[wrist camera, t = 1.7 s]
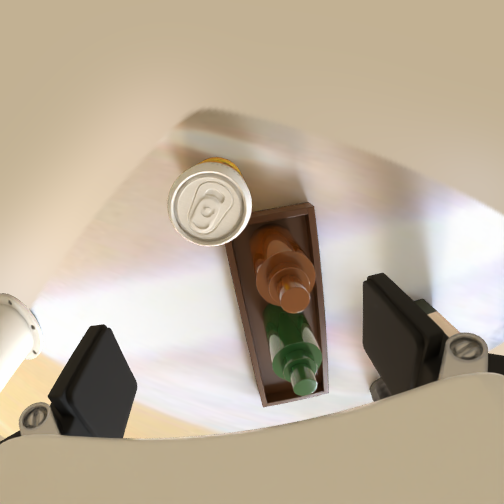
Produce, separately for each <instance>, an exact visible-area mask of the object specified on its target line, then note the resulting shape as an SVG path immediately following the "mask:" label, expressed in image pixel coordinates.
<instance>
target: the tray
mask: <svg viewBox="0 0 504 504" xmlns="http://www.w3.org/2000/svg"><path fill="white" fill-rule="evenodd" d="M270 223H275V224H280V225H282V226H284V227H286V228H287V229H288V230H289V231H290V233H291V234H292V235H293V237H294V238H295V240H296V241H297V243H298V244H299V245H300V247H301V248H302V250H303V251H304V253H305V254H306V255H307V257H308V258H309V260H310V261H311V263H312V264H313V266H314V269H315V273H316V279H315V284H314V287H313V289H312V291H311V292H310V294H309V295H310V302H309V304H308V306H307V307H306V309H304V310H303V311H304V314H305V316H306V318H307V320H308V323H309V325H310V327H311V330H312V332H313V334H314V336H315V339H316V341H317V343H318V346H319V348H320V350H321V353H322V362H321V365H320V367H319V368H318V369H317V371H316V374H315V375H314V376H315V379H316V381H317V388H316V390H315V391H314V392H313V393H311V394H309V395H306V396H300V395H297V394H295V393H294V391H293V387H292V383H291V382H288V381H287V380H284V379H282V378H280V377H278V376H277V375H276V374H275V373H274V371H273V368H272V364H271V359H270V354H269V349H268V344H267V339H266V334H265V330H264V325H263V320H262V315H263V311H264V309H265V307H266V306H267V305H268V304H269V302H267V301H266V300H265V299H263V298H262V296H261V295H260V293H259V292H258V289H257V286H256V281H255V276H254V271H253V267H252V262H251V257H250V252H249V240H250V238H251V235H252V234H253V232H254V231H255V230H256V229H257V228H259V227H260V226H262V225H265V224H270ZM225 247H226V252H227V256H228V261H229V266H230V270H231V275H232V279H233V283H234V288H235V292H236V297H237V301H238V305H239V310H240V314H241V318H242V323H243V327H244V331H245V336H246V340H247V344H248V348H249V352H250V357H251V361H252V365H253V369H254V373H255V377H256V381H257V385H258V389H259V393H260V397H261V401H262V405H263V407H267V406H273V405H278V404H283V403H288V402H292V401H297V400H302V399H306V398H310V397H314V396H319V395H323V394H327V393H329V384H328V359H327V340H326V324H325V310H324V297H323V285H322V274H321V263H320V254H319V244H318V235H317V226H316V218H315V210H314V206H313V205H311V204H310V203H309V202H307V203H301V204H295V205H290V206H284V207H279V208H273V209H268V210H262V211H257V212H252V213H251V215H250V218H249V221H248V223H247V225H246V227H245V228H244V230H243V231H242V232H241V233H240V234H239V235H238V236H237V237H236V238H234V239H233V240H231V241H229V242H227V243H225Z"/></svg>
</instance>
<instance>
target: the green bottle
mask: <svg viewBox="0 0 504 504" xmlns="http://www.w3.org/2000/svg"><path fill="white" fill-rule="evenodd" d="M262 320H263V325H264V330H265V334H266V339H267V344H268V349H269V354H270V359H271V364H272V368H273V371H274V373H275V374H276V375H277V376H278V377H280V378H282V379H284V380H287V381H288V382H291V383H292V387H293V391H294V393H295V394H297V395H300V396H306V395H309V394H311V393H313V392H314V391H315V390H316V388H317V381H316V379H315V376H314V375H315V374H316V371H317V369H318V368H319V367H320V365H321V362H322V353H321V350H320V348H319V346H318V343H317V341H316V339H315V336H314V334H313V332H312V330H311V327H310V325H309V323H308V320H307V318H306V316H305V314H304V311H302V312H299V313H295V314H292V313H288V312H286V311H284V310H283V308H282V307H281V306H276V305H273V304H271V303H269V304H268V305H267V306H266V307H265V309H264V311H263V315H262Z"/></svg>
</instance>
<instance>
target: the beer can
mask: <svg viewBox="0 0 504 504" xmlns="http://www.w3.org/2000/svg"><path fill="white" fill-rule="evenodd" d="M251 210H252V200H251V195H250V192H249V189H248V187H247V185H246V183H245V181H244V179H243V177H242V174H241V172H240V171H239V169H238V168H237V166H236V165H235V164H233V163H232V162H231V161H229V160H227V159H224V158H219V157H214V158H209V159H206V160H204V161H202V162H200V163H198V164H197V165H195V166H193V167H191V168H190V169H188V170H186V171H185V172H184V173H182V174H181V175H180V176H179V177H178V178H177V179H176V181H175V182H174V184H173V185H172V187H171V190H170V192H169V196H168V214H169V218H170V220H171V223H172V224H173V226H174V228H175V229H176V231H177V232H178V233H179V234H180V235H181V236H182V237H184V238H185V239H186V240H188V241H190V242H192V243H194V244H197V245H201V246H218V245H222V244H225V243H227V242H229V241H231V240H233V239H234V238H236V237H237V236H238V235H239V234H240V233H241V232H242V231H243V230H244V228H245V227H246V225H247V223H248V221H249V218H250V215H251Z"/></svg>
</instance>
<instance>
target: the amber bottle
mask: <svg viewBox="0 0 504 504" xmlns="http://www.w3.org/2000/svg"><path fill="white" fill-rule="evenodd" d="M249 252H250V257H251V262H252V267H253V271H254V276H255V281H256V286H257V289H258V292H259V293H260V295H261V296H262V298H263V299H265V300H266V301H267V302H269V303H271V304H273V305H276V306H281V307H282V308H283V310H284V311H286V312H288V313H292V314H295V313H299V312H302V311H303V310H304V309H306V307H307V306H308V304H309V302H310V295H309V294H310V292H311V291H312V289H313V287H314V284H315V279H316V273H315V269H314V266H313V264H312V263H311V261H310V260H309V258H308V257H307V255H306V254H305V253H304V251H303V250H302V248H301V247H300V245H299V244H298V243H297V241H296V240H295V238H294V237H293V235H292V234H291V233H290V231H289V230H288V229H287V228H286V227H284V226H282V225H280V224H275V223H270V224H265V225H262V226H260V227H259V228H257V229H256V230H255V231H254V232H253V234H252V235H251V238H250V240H249Z"/></svg>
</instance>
